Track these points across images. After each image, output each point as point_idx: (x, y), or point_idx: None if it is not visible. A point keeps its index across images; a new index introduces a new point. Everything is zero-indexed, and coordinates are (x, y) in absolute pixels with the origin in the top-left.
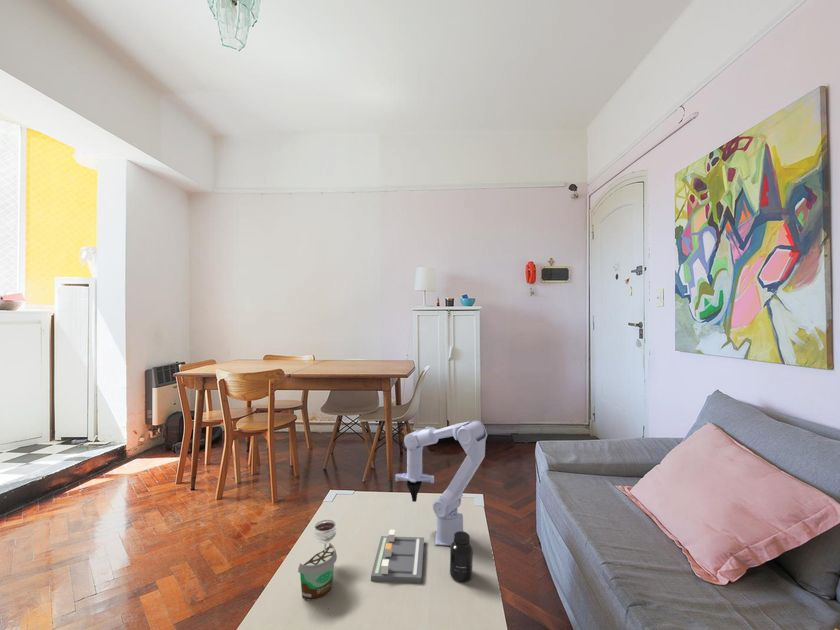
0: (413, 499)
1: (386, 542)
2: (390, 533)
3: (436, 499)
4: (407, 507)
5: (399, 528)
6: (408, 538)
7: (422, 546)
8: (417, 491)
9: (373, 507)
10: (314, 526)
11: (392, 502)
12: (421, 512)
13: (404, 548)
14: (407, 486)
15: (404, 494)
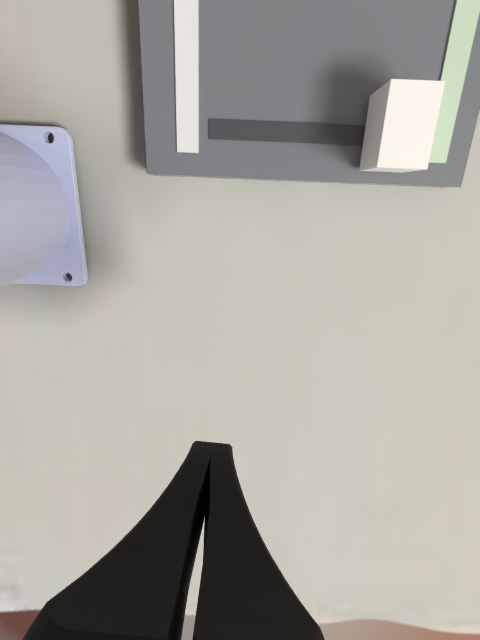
0: (217, 456)
1: None
2: (425, 100)
3: None
4: (271, 513)
5: (318, 322)
6: (259, 159)
7: (147, 45)
8: (140, 532)
9: (462, 514)
10: None
11: (353, 553)
12: None
13: (288, 10)
14: (318, 628)
15: None
